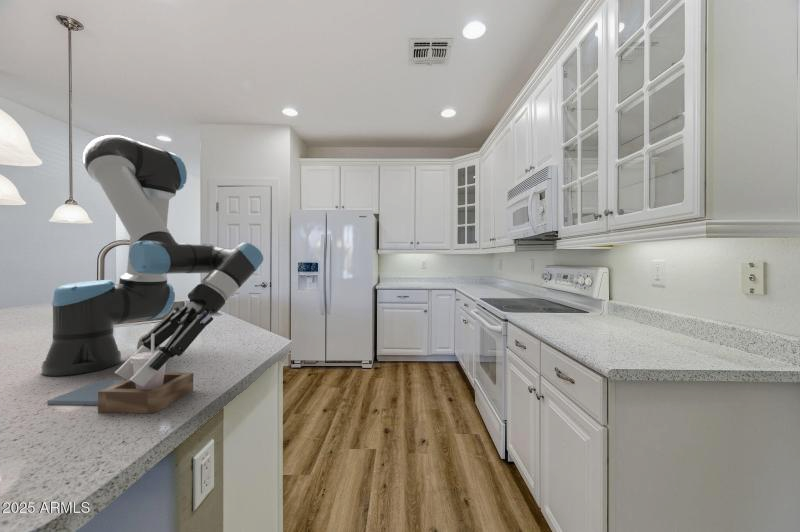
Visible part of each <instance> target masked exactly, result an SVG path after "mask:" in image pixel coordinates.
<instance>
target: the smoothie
mask: <svg viewBox="0 0 800 532" xmlns="http://www.w3.org/2000/svg"><path fill="white" fill-rule="evenodd" d="M154 339H155V334H151V351H146V352H141V353H137V354H134V353H133V354H134V355H133V354H131V356H130V357H131V360H130V362H131V363H132V364H133V371H134V374H135V373H136V372H137V371H138V370H139V369H140V368H141V367H142V366H143V365H144V364H145V363H146V362H147V361H148V360H149V359H150V358H151V357H152V356H153V355H154V354H155V353H156V352H157V351H160V350H154ZM161 352H162V351H161ZM167 362H168V361H167ZM167 362H166V363H165V364H164V365H163V366H162V367H161V368H160V369H159V370H158V371H157V373H156V374H155V375H154V376H153V377H152V378H151V379H150V380H149V381H148V382H147V383H146V384H145V385H144V387H142V386H140V385H138V384H136V383H135V385H136V389H155V388H157V387H159V386H161V385H163V381H164V375H165V372H166V367H167ZM134 374H133V375H134Z"/></svg>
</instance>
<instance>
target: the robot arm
mask: <svg viewBox="0 0 800 532" xmlns="http://www.w3.org/2000/svg"><path fill="white" fill-rule="evenodd" d="M82 160H83V161H82V162H83V165H84V168H85V170H86V172H87V174H88V175H89V177H90V178H91V179H92V180H93V181H95V182H96V183H98V184H99V185H100V186H101V188H102V190H103V192H104V193H105V195H106V197H107V199H108V200H109V202H110V204H111V205H112V207H113V209H114V211H115V213H116V215H117V216H118V218H119V220H120V222H121V224H122V225H123V226H124V228H125V230H126V232H127V234H128V235H129V243H128V254H127V268H126V272H125V273H123V274H122V275H120V276H119V281H118V282H119V283H118V284H116V283H115V281H114V280H111V279H101V280H100V279H99V280H88V281H86V280H85V281H80V282H79V281H78V282H71V283H67V284H62V285H59V286H58V287H57V288H55V289H54V291H53V300H52V302H51V305H52V342H51V345H50V347H49V349H48V351H47V354H46V358H45V360H44V361H43V362H42V363H41V374H42V375H44V376H51V377H58V376H59V377H61V376H71V375H80V374H85V373H91V372H96V371H101V370H104V369H108V368H111V367H114V366H116V365H118V364H120V363H121V361H122V353H121V351H120V350H119V347H118V345H117V342H116V339H115V336H114V325H118V324H119V325H121V324H126V323H127V324H128V323H134V322H141V321H151V320H153V319H159V318H162V317H164V318H163V319H162V320H161V321H160V322H158V324H157V323H156V325H155V326H154V327H153V328H152V329H150V331H148V333H146V335H145V334H144V335H145V336H144V337H143V338H142V339H141V342H143V343H142V346H141V347H140V348H139V349H138V350H137V349H136V350H135V352H134V353H133V354H132V355H134V354H137V353H141V352H146V351H151V334H155V339H154V350H156V348H157V347H158V346H159V345H160V347H159V350H160V351H157V352H156V353H155V354H154V355H153V356H152V357H151V358H150V359H149V360H148V361H147V362H146V363H145V364H144V365H143V366H142V367H141V368H140V369H139V370H138V371H137V372H136V373H135V374H134V371H133V364H132V363H131V362H130V360H131V356H130V357H129V358H128V359H127V360H125V361H124V363H123V364H121V366H119V368H117V369H116V370H115V371H114V374H116V375H118V376H119V377H121V378H123V379H124V380H128V379H129V378H130V379H129V380H131V381H133V382H134V383H136V384H138V385H140V386H142V387H144V385H145V384H146V383H147V382H148V381H149V380H150V379H151V378H152V377H153V376H154V375H155V374H156V373H157V371H158V370H159V369H160V368H161V367H162V366H163V365H164V364H165V363H166V362H168V361H169V360H170V359H171V358H172V359H173V358H174V357H175V356H177V357H180V356H182V355H183V353H185V352H186V350H187V349H188V348H189V347H190V345H192V343H193V342H194V341H195V340H196V339H197V337H198V336H199V335H200V334H201V332H203V330H204V329H205V328H206V327H207V326H208V325H209V324H210V323H211V322H212V321H213V320H214V317H212V316H211V315H214V314H217V313H218V312H219V311H220V310H221V309H222V308H223V306H225V304H226V301H228V300H229V299H231V297H234V295H235V293H236V292H237V291H238V290H239V289H240V288H241V287H242V286H243V285H244V283H246V282H247V280H248V279H249V278H250V277H251V276H252V275H253V274H254V273H255V272H256V271H257V270H258V268H259V267H261V264H262V263H263V262H264V255H263V254H262V252H261V250H260V249H259V248H258V247H256V246H255V245H253V244H252V243H250V242H241V243H240V244H238V245H236V247H235V248H234V249H233V248H226V247H222V246H217V245H215V244H208V243H207V244H206V243H199V244H193V243H192V244H191V243H181V242H180V243H179V242H177V241H176V240H175V238H174V237H173V236H172V234H171V232H170V230H169V229H168V228H167V227H168V215H169V208H170V207H169V206H170V200H171V199H172V198H174V197H175V196H176V193H177V191H181V190H182V189H184V187H185V184H186V182H187V177H188V175H187V173H188V172H187V168H186V165H185V163H184V161H183V160H182V158H181V157H180V156H178V155H177V154H175V153H173V152H170V151H168V150H167V149H165V148H160V147H156V146H153V145H151V144H149V143H144V142H142V141H138V140H135V139H132V138H129V137H126V136H123V135H120V134H119V135H116V134H107V135H103V136H99V137H97V138H94V139H93V140H91V141H90V142H89V143H88V144H87V146H86V147H85V149H84V151H83V156H82ZM165 274H167V275H169V274H170V275H171V274H207V275H206V276H205V277H204V278H203V279H202V280H201V281H200V283H199V284H197V285H196V286H195V287H194V288H193V289H192V290H191V291H190V292H188V294H187V298H188V299H189V302H188V303H186V304H185V305H184V306H182V307H181V308H179V307H178V306H174V303H175V298H176V294H175V291H174V290H175V289H174V287H173V286H172V285H171V284H170V283H168V278H167V276H166V275H165ZM173 306H174V307H173ZM172 308H173V309H172ZM171 309H172V310H171ZM210 314H211V315H210ZM166 340H168V341H167V342H166ZM164 342H166V343H165V345H164V346H161V345H162V344H163V343H164ZM161 351H162V352H161ZM166 364H167V363H166Z"/></svg>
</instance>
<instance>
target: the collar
mask: <svg viewBox="0 0 800 532" xmlns="http://www.w3.org/2000/svg"><path fill="white" fill-rule="evenodd" d="M130 378H131V377H130ZM130 378H129V379H130ZM129 379H128V380H127V379H124V380H121V381H122V382H120V383H117V384H115V385H113V386H110V387H108V388H106V389H103V390H101V391H98V405H97V413H103V412H105V413H107V414H108V413H110V414H111V413H114V414H115V413H118V414H121V413H122V414H156V413H158V412H160V411H161V410H163V409H165V408H166V407H169V406H170V405H171V404H174V403H175V402H177V400H179V399H181V398H182V397H184V396H186V395H188V394H190V393H191V392H193V391H194V372H177V371H176V372H175V371H173V372H171V371H168V372H167V371H165V375H164V381H163V385H161V386H159V387H157V388H155V389H136V385H135V383H134V382H133V381H131V380H129Z"/></svg>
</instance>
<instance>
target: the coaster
mask: <svg viewBox="0 0 800 532" xmlns="http://www.w3.org/2000/svg"><path fill="white" fill-rule="evenodd" d="M122 381H123V380H110V379H106V380H105V379H103V380H101V379H99V380H97V381H94V382H92V383H89V384H87V385H84V386H82V387H79V388H77V389H74V390H71V391H69V392H65V393H63V394H61V395H58V396H55V397H53V398H50V399H48V400H46V401H47V405H55V406H56V405H57V406H58V405H60V406H62V405H63V406H65V405H67V406H68V405H69V406H98V391H101V390H103V389H106V388H108V387H110V386H113V385H115V384H117V383H120V382H122ZM85 404H86V405H85Z"/></svg>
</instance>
